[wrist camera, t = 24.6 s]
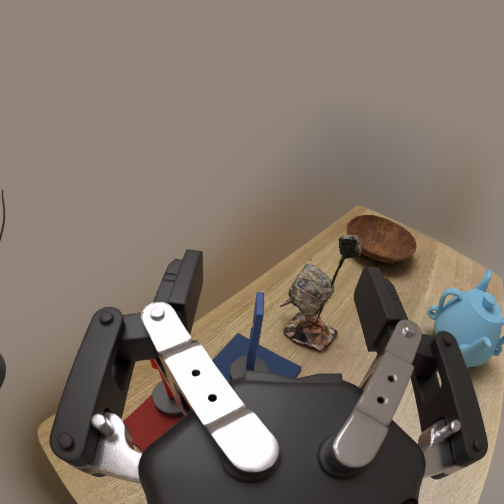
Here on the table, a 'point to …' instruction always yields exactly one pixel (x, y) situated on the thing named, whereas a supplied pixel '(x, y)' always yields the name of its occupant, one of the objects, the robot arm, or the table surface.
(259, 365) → the blue signpost
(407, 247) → the bowl
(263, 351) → the blue mat
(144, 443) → the red mat
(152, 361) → the red paddle on stand
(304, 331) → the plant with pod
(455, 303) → the teapot
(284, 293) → the table surface
